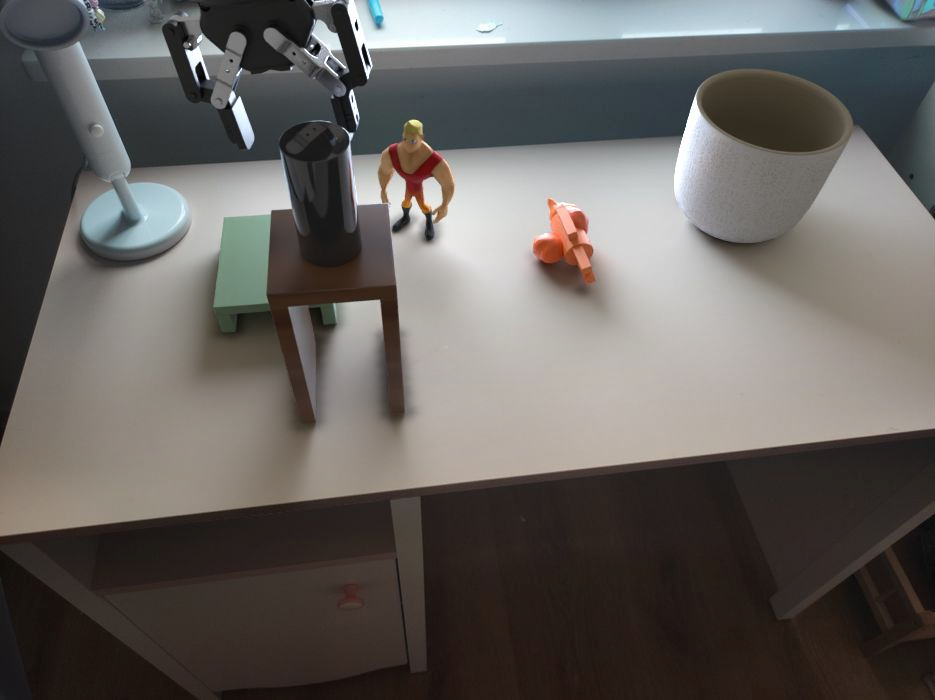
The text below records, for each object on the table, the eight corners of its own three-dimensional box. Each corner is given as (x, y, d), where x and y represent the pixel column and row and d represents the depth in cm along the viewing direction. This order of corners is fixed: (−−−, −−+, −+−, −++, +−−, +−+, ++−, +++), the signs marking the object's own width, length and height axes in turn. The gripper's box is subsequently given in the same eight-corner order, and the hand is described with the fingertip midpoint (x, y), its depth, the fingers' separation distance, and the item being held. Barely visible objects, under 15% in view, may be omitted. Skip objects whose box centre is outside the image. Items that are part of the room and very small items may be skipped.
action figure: (373, 227, 86) (363, 119, 74) (385, 210, 88) (377, 101, 76) (446, 247, 84) (447, 139, 72) (456, 229, 86) (459, 120, 74)
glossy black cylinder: (334, 276, 55) (318, 171, 48) (287, 250, 57) (263, 145, 49) (374, 240, 58) (364, 135, 50) (327, 217, 60) (311, 112, 52)
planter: (823, 252, 86) (885, 146, 74) (694, 270, 83) (737, 162, 71) (758, 168, 96) (804, 62, 84) (641, 181, 93) (671, 74, 81)
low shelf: (336, 324, 76) (332, 298, 73) (222, 333, 75) (212, 307, 71) (334, 236, 85) (330, 210, 81) (231, 243, 83) (223, 217, 80)
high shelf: (405, 413, 69) (396, 285, 55) (301, 423, 68) (265, 294, 54) (397, 335, 75) (388, 202, 61) (302, 343, 74) (270, 209, 60)
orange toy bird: (609, 251, 76) (574, 183, 83) (543, 276, 77) (515, 205, 84) (614, 281, 80) (581, 212, 87) (552, 303, 81) (524, 234, 88)
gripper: (100, -55, 44) (201, 173, 55) (319, -85, 42) (377, 156, 54) (144, -87, 49) (228, 127, 61) (340, -115, 48) (389, 110, 59)
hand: (298, 140), depth 57 cm, fingers open, 8 cm apart
